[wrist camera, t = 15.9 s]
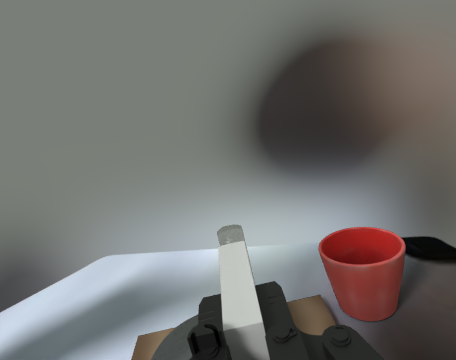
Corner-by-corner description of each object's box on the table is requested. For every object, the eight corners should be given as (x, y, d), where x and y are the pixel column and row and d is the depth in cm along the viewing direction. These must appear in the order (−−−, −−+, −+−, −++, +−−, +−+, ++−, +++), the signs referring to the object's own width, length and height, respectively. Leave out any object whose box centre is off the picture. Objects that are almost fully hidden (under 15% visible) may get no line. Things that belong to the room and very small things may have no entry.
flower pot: (333, 277, 53) (325, 225, 50) (408, 283, 48) (404, 225, 45) (321, 323, 44) (310, 262, 42) (412, 336, 39) (406, 268, 36)
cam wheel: (155, 494, 28) (94, 347, 23) (119, 373, 41) (76, 267, 37) (311, 370, 36) (286, 244, 31) (237, 304, 49) (213, 209, 45)
